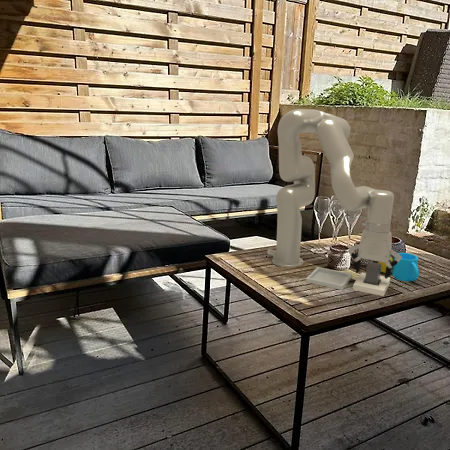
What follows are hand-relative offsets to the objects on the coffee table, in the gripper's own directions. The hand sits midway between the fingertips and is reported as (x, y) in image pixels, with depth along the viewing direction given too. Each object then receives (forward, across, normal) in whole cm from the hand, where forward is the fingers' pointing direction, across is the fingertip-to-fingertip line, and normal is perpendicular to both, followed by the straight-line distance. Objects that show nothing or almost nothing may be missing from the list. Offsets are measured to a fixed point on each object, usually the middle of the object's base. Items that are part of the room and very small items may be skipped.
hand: (371, 274), depth 145 cm
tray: (+5, -14, -2) cm, 15 cm away
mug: (+5, +10, +15) cm, 19 cm away
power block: (+5, 0, 0) cm, 5 cm away
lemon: (+5, +2, +16) cm, 17 cm away
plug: (+4, 0, 0) cm, 5 cm away
